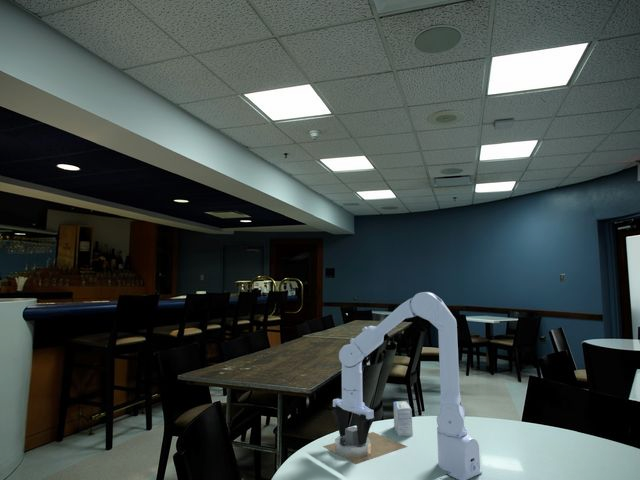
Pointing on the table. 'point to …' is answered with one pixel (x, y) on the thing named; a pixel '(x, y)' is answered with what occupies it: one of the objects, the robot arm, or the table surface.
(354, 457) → the board with octagonal ring
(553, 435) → the table surface
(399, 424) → the medicine box
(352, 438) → the cap
